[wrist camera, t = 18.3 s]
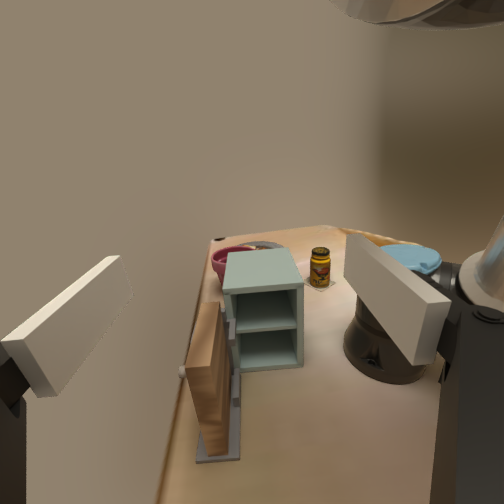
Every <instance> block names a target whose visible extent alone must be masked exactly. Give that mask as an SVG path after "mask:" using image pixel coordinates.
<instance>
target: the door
mask: <svg viewBox="0 0 504 504" xmlns="http://www.w3.org/2000/svg"><path fill="white" fill-rule="evenodd" d="M186 377H187V379H188V383H189V387H190V391H191V394H192V398H193V402H194V406H195V410H196V413H197V417H198V421H199V425H200V429H201V432H202V436H203V440H204V444H205V447H206V451H207V455H208V457H212V456H223V455H228V450H229V429H230V407H231V385H232V376H231V370H230V363H229V357H228V351H227V345H226V338H225V332H224V326H223V320H222V314H221V307H220V302H210V303H202V304H201V308H200V312H199V316H198V319H197V323H196V327H195V331H194V334H193V338H192V342H191V346H190V349H189V353H188V357H187V361H186V364H185V365H183V366H180V367H179V378H186Z"/></svg>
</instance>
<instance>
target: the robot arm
mask: <svg viewBox="0 0 504 504" xmlns="http://www.w3.org/2000/svg"><path fill="white" fill-rule="evenodd" d="M330 1H331V2H332V3H333V4H334V5H335V7H337V8H338V9H339V10H341V11H342V12H343V13H345V14H347V15H348V16H350V17H353V18H355V19H359V20H362V21H365V22H368V23H372V24H376V25H380V26H388V27H397V28H406V29H415V30H458V29H459V30H461V29H471V28H480V27H487V26H495V25H500V24H504V0H330ZM344 278H345V279H346V280H347V281H348V283H349V284H350V285H351V287H352V288H353V289H354V291H355V292H356V293H357V302H356V312H355V316H354V318H353V320H352V321H351V323H350V325H349V327H348V329H347V330H346V332H345V335H344V343H343V347H344V351H345V354H346V356H347V358H348V359H349V360H350V362H351V363H352V364H353V365H354V366H355V367H356V368H357V369H359V370H360V371H361V372H363V373H364V374H366V375H368V376H370V377H372V378H374V379H376V380H379V381H383V382H386V383H392V384H407V383H411V382H414V381H416V380H418V379H419V378H420V377H421V376H422V375H423V373H424V371H425V367H426V364H433V363H434V360H435V356H436V353H437V351H438V352H439V354H440V355H441V356H442V357H443V358H444V359H445V363H444V366H443V369H442V372H441V375H440V378H439V381H438V382H439V383H441V393H440V403H439V413H438V423H437V433H436V443H435V453H434V463H433V473H432V483H431V493H430V503H429V504H504V216H503V217H502V219H501V221H500V223H499V225H498V227H497V229H496V231H495V233H494V235H493V236H492V238H491V240H490V242H489V244H488V246H487V248H486V250H483V251H480V252H477V253H475V254H473V255H472V256H470V257H469V258H467V259H466V261H465V262H464V263H463V264H456V263H449V262H442V261H441V258H440V255H439V254H438V252H436V251H435V250H433V249H430V248H425V247H424V246H418V245H408V244H397V245H387V246H382V247H378V246H377V245H375V244H374V243H372V242H371V241H370V240H368V239H367V238H366V237H364V236H363V235H362V234H360V233H358V234H347V238H346V251H345V264H344ZM133 296H134V294H133V291H132V288H131V285H130V282H129V280H128V277H127V273H126V270H125V268H124V265H123V262H122V259H121V256H120V255H119V256H108V257H106V258H105V259H104V260H102V261H101V262H100V263H98V264H97V265H96V266H95V267H93V268H92V269H91V270H90V271H88V272H87V273H86V274H84V275H83V276H82V277H81V278H80V279H78V280H77V281H76V282H74V283H73V284H72V285H71V286H69V287H68V288H67V289H65V290H64V291H63V292H62V293H60V294H59V295H58V296H57V297H55V298H54V299H53V300H52V301H50V302H49V303H48V304H46V305H45V306H44V307H43V308H41V309H40V310H38V311H37V312H36V313H35V314H33V315H32V316H31V317H29V318H28V320H26V321H24V322H23V323H22V324H21V325H20V326H19V327H17V328H15V329H14V330H13V331H12V332H10V333H9V334H8V335H7V336H5V337H4V338H3V339H1V340H0V504H26V401H25V400H24V398H23V397H22V395H23V394H24V393H25V392H26V390H27V389H28V388H29V387H31V389H32V390H33V392H34V393H35V395H36V396H37V398H42V397H54V396H58V395H59V394H60V393H61V391H62V390H63V389H64V387H65V386H66V385H67V383H68V382H69V381H70V379H71V378H72V377H73V375H74V374H75V373H76V371H77V370H78V369H79V367H80V366H81V365H82V363H83V362H84V361H85V359H86V358H87V357H88V355H89V354H90V353H91V352H92V350H93V349H94V347H95V346H96V345H97V344H98V342H99V341H100V340H101V338H102V337H103V335H104V334H105V333H106V331H107V330H108V329H109V327H110V326H111V325H112V324H113V322H114V321H115V320H116V318H117V317H118V316H119V314H120V313H121V312H122V310H123V309H124V308H125V306H126V305H127V304H128V302H129V301H130V300H131V298H132V297H133Z"/></svg>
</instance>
